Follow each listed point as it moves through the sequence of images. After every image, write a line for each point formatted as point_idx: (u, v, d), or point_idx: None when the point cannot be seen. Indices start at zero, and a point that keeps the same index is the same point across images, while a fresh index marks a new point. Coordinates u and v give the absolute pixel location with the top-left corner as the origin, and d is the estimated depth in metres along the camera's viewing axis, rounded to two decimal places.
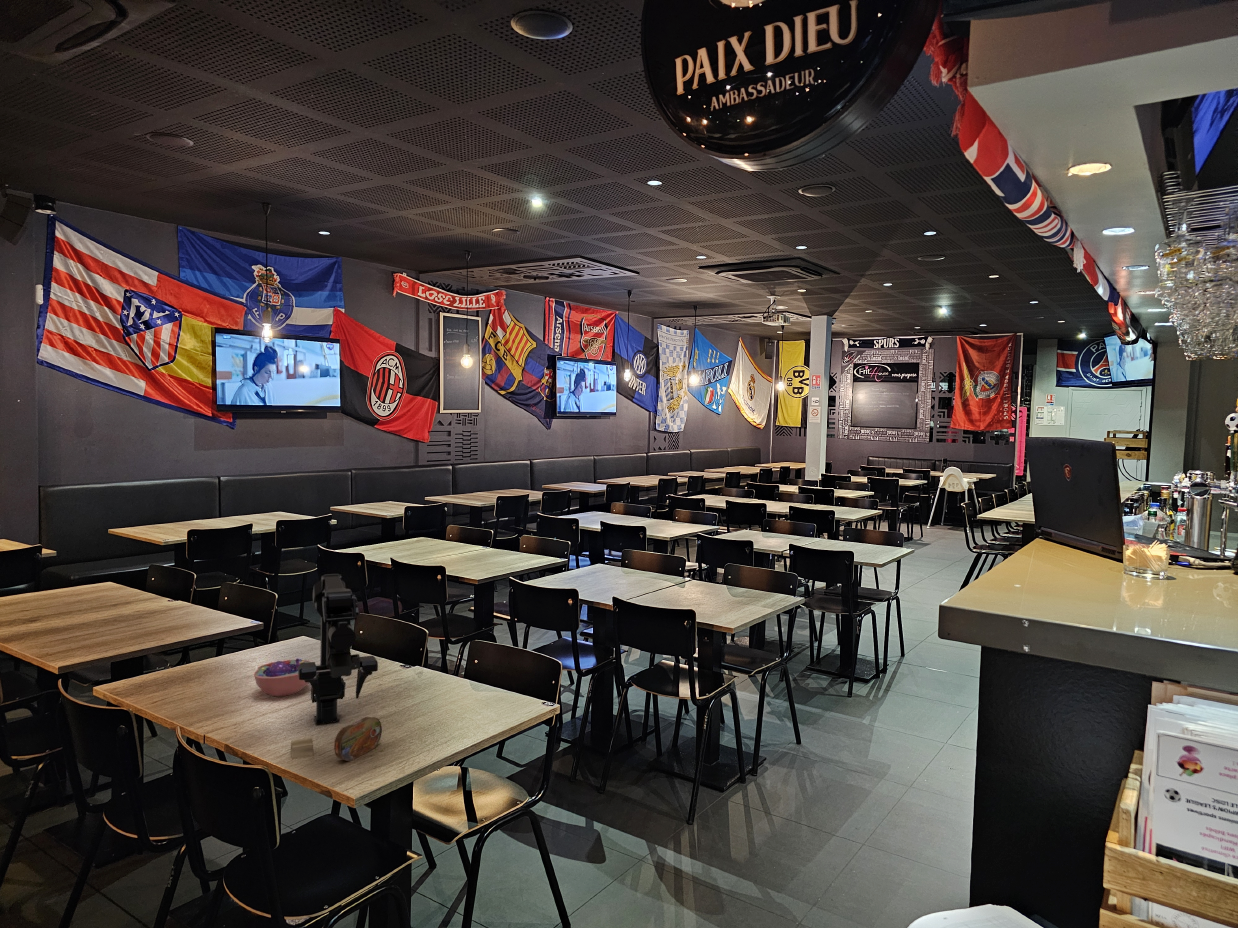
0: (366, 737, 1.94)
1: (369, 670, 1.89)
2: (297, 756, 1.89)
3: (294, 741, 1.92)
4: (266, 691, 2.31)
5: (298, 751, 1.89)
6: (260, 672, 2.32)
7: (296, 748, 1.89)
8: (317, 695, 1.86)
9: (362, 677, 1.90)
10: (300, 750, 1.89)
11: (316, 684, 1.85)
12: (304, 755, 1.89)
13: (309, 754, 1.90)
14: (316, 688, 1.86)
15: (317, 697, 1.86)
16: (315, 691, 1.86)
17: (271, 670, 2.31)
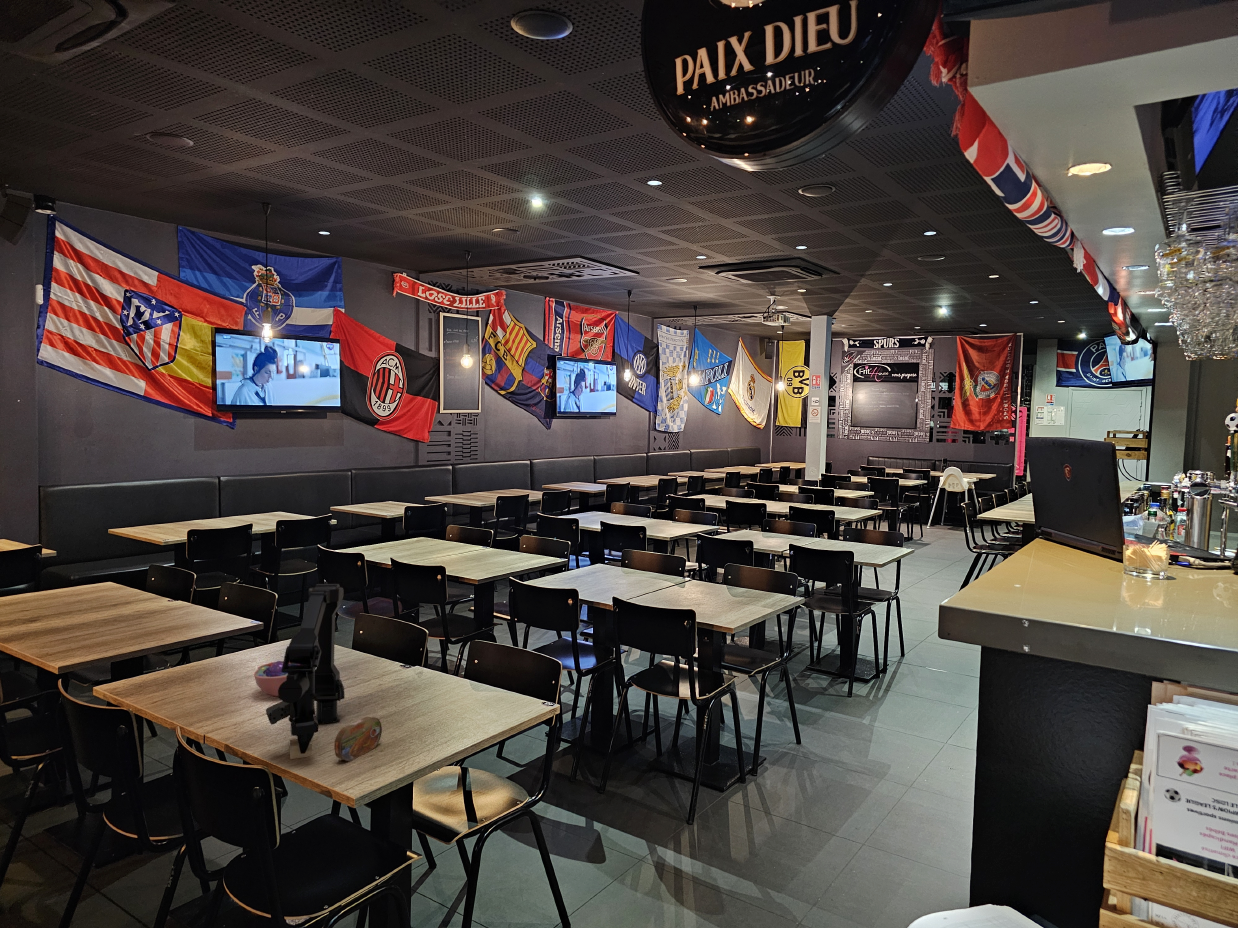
0: (366, 737, 1.94)
1: None
2: (296, 755, 1.89)
3: (292, 740, 1.92)
4: (266, 691, 2.31)
5: (297, 751, 1.89)
6: (260, 672, 2.32)
7: (295, 747, 1.88)
8: None
9: None
10: (298, 749, 1.89)
11: None
12: (303, 754, 1.89)
13: (308, 753, 1.90)
14: None
15: None
16: None
17: (271, 670, 2.31)
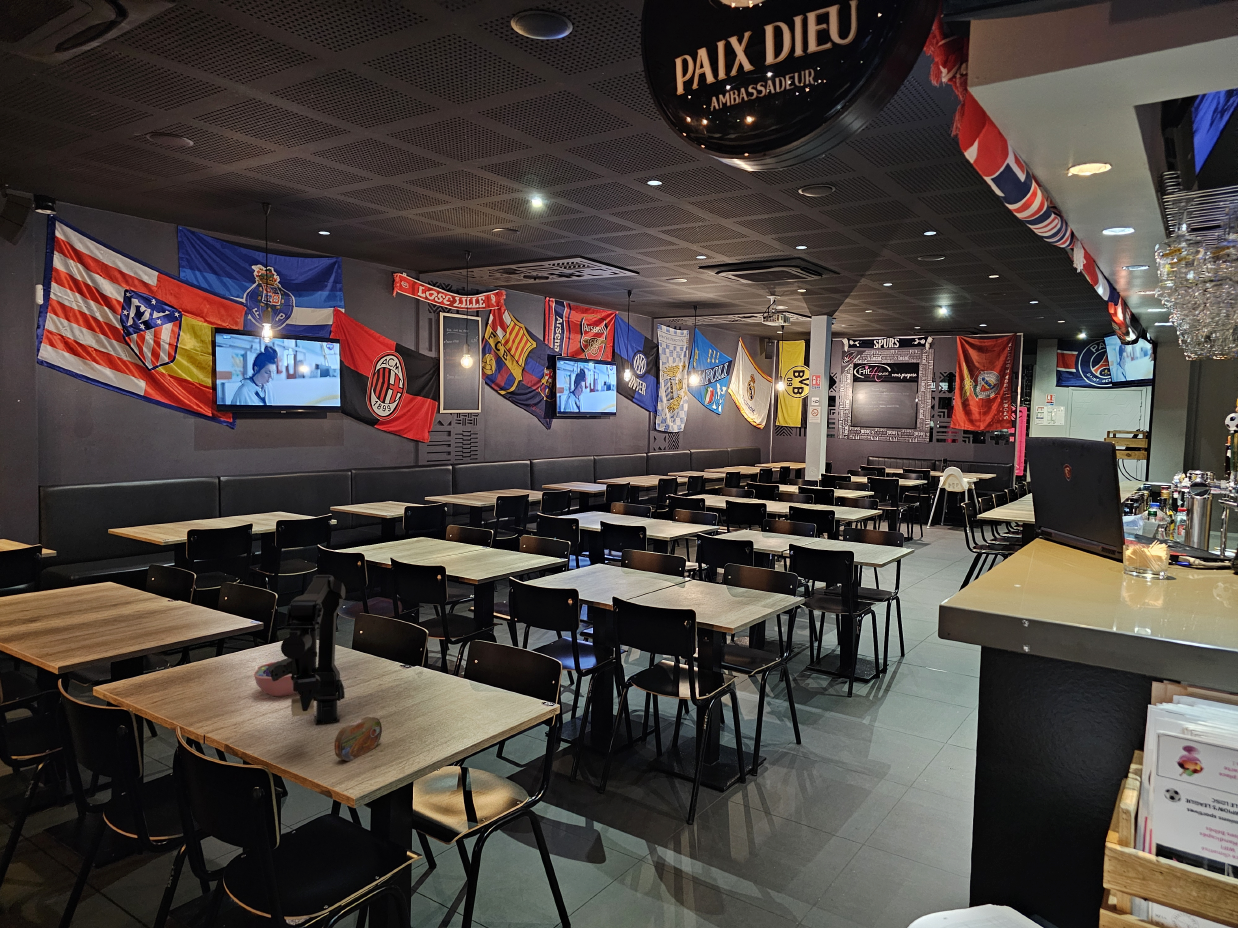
0: (366, 737, 1.94)
1: None
2: (297, 713, 1.88)
3: (294, 698, 1.91)
4: (266, 691, 2.31)
5: (299, 708, 1.88)
6: (260, 672, 2.32)
7: (296, 705, 1.88)
8: (299, 695, 1.94)
9: None
10: (300, 706, 1.89)
11: None
12: (304, 712, 1.89)
13: (309, 711, 1.90)
14: None
15: None
16: None
17: None
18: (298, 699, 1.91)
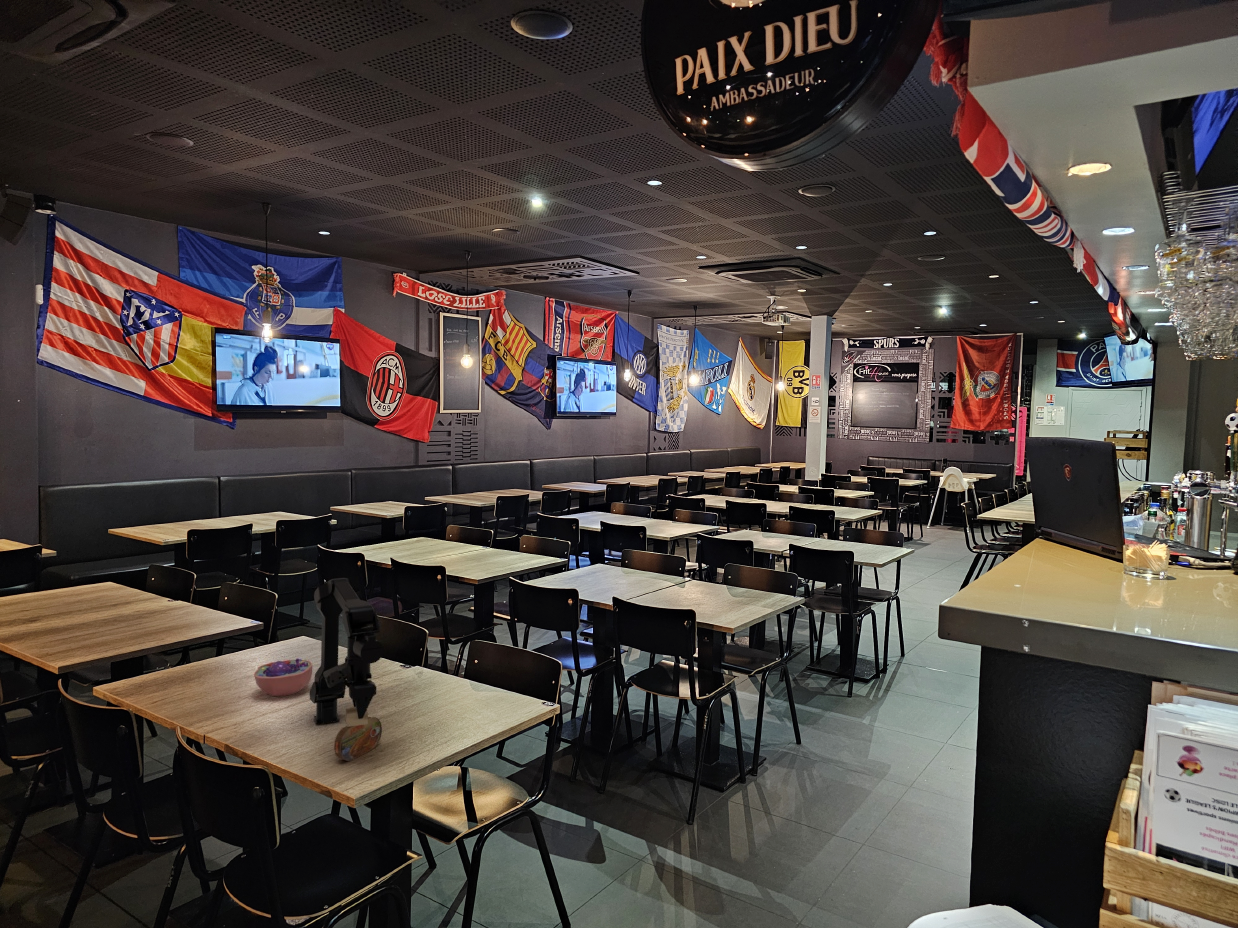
0: (366, 737, 1.94)
1: (349, 693, 1.84)
2: (352, 723, 1.89)
3: (348, 709, 1.92)
4: (266, 691, 2.31)
5: (353, 719, 1.89)
6: (260, 672, 2.32)
7: (351, 715, 1.89)
8: (352, 699, 1.95)
9: None
10: (355, 717, 1.89)
11: None
12: (359, 722, 1.90)
13: (364, 721, 1.90)
14: None
15: None
16: None
17: (271, 670, 2.31)
18: (352, 709, 1.92)
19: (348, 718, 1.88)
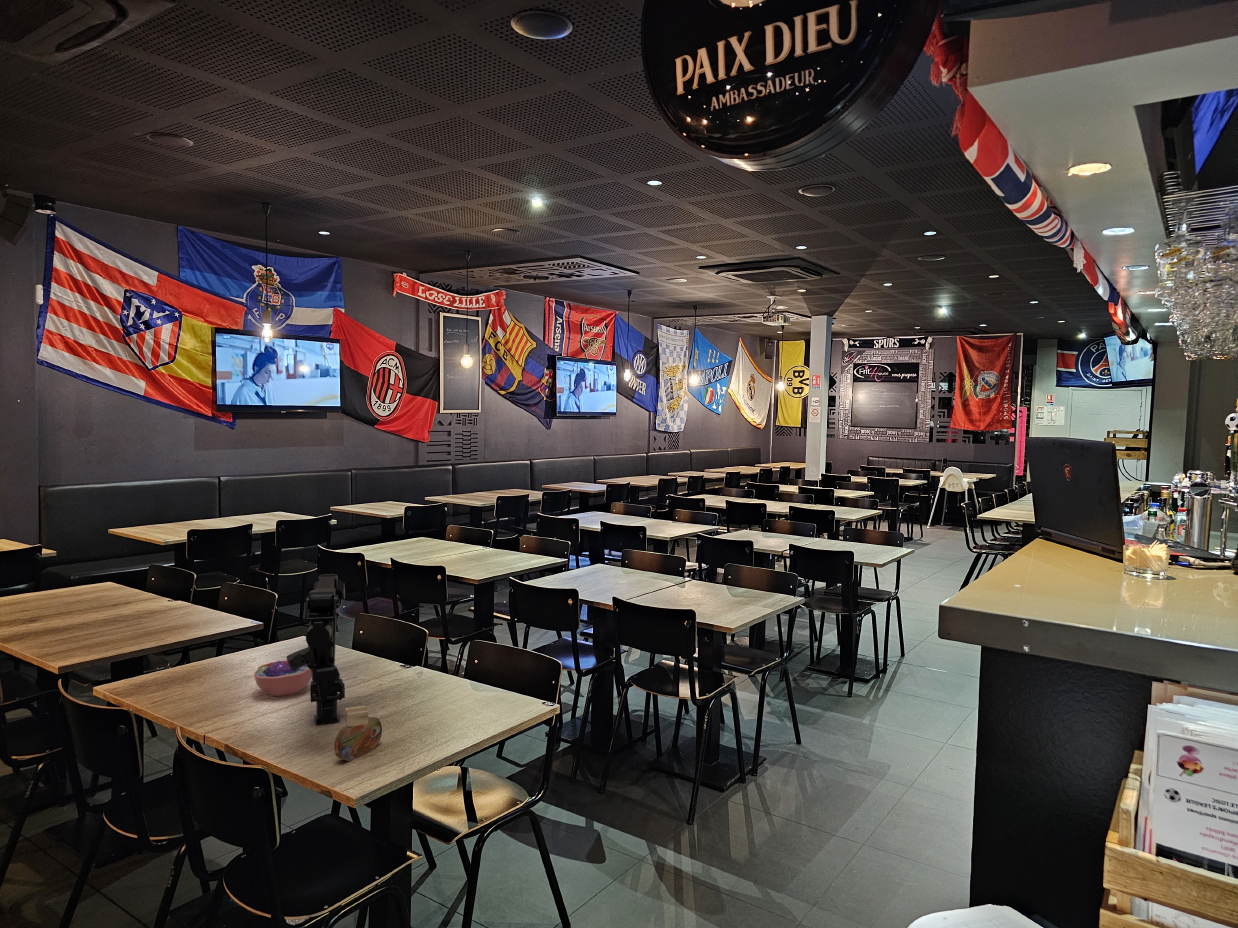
0: (366, 737, 1.94)
1: (311, 676, 1.90)
2: (352, 723, 1.89)
3: (348, 709, 1.92)
4: (266, 691, 2.31)
5: (354, 719, 1.89)
6: (260, 672, 2.32)
7: (352, 715, 1.89)
8: None
9: None
10: (355, 717, 1.89)
11: None
12: (359, 722, 1.90)
13: (364, 721, 1.90)
14: None
15: (315, 684, 2.02)
16: None
17: (271, 670, 2.31)
18: (352, 709, 1.92)
19: (348, 718, 1.88)
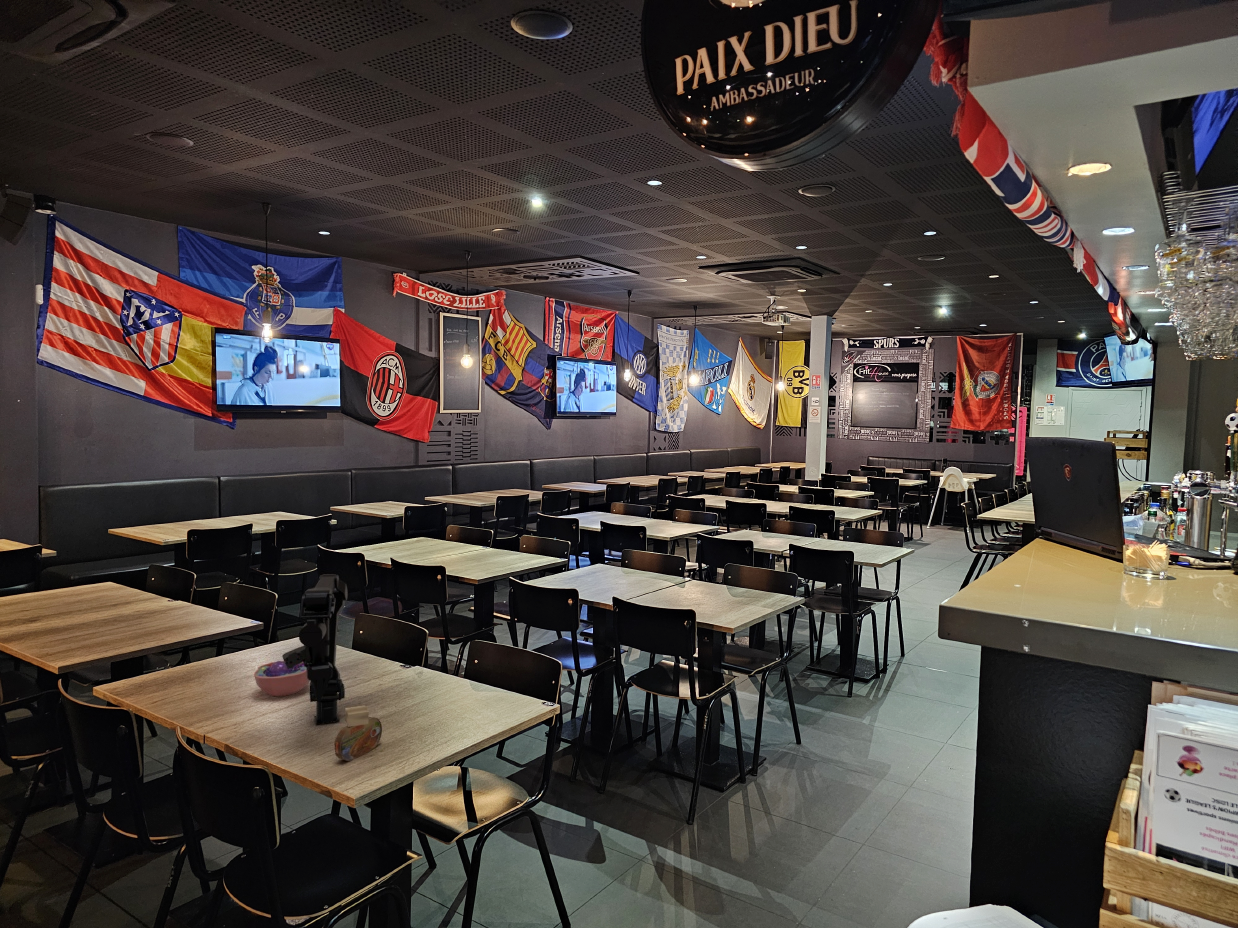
0: (366, 737, 1.94)
1: None
2: (353, 723, 1.89)
3: (348, 709, 1.92)
4: (266, 691, 2.31)
5: (354, 719, 1.89)
6: (260, 672, 2.32)
7: (352, 715, 1.89)
8: None
9: None
10: (356, 717, 1.89)
11: None
12: (360, 722, 1.90)
13: (364, 721, 1.90)
14: None
15: (312, 682, 2.02)
16: None
17: (271, 670, 2.31)
18: (352, 709, 1.92)
19: (349, 718, 1.88)
